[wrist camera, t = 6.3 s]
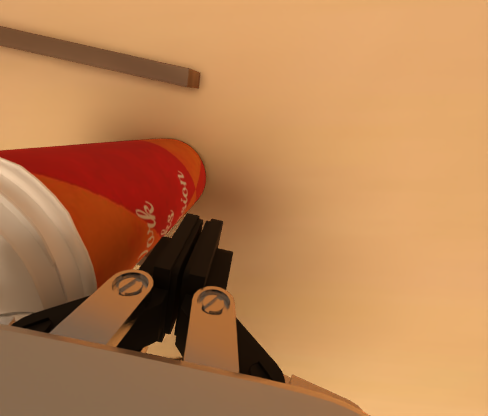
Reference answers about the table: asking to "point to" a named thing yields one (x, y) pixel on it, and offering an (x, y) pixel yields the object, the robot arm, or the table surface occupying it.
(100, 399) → the robot arm
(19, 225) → the paper cup
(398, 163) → the table surface
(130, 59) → the u rest
